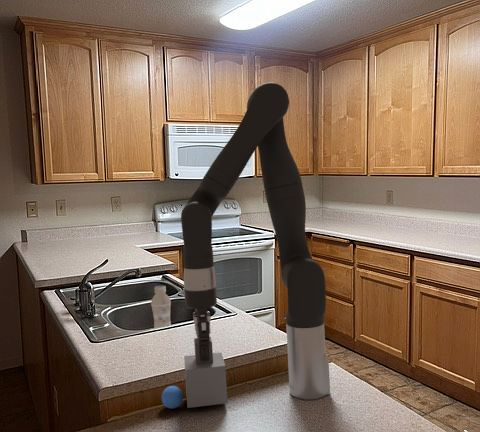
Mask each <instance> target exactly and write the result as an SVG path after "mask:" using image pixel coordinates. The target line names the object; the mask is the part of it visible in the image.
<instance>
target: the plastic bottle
mask: <svg viewBox="0 0 480 432" xmlns="http://www.w3.org/2000/svg"><path fill="white" fill-rule="evenodd" d="M166 288H167V287H166V285H156V286H154V295H153V297H152V298H151V301H150V305H151V309H152V315H153V323H154V325H153V326H154V327H153V329H154V328H158V327H163V326H167V325H171V326H172V322H171V305H172V303H171V302H172V301H171V299H170V297H169V295H168V294H166V292H167V289H166Z"/></svg>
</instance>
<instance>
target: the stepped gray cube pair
mask: <svg viewBox="0 0 480 432" xmlns="http://www.w3.org/2000/svg"><path fill="white" fill-rule="evenodd" d="M204 339H207V337H204V338H201V340H204ZM193 340H194V341H193V342H194V354H193V355H185V356H184V357H183V358H184V359H183V360H184V373H185V374H184V376H185V377H184V378H185V389H186V391H185V393H186V405H187V409H189V408H198V407H206V406H207V407H208V406H217V405H222V404H224V405H225V404H228V388H227V368H226V363H225V361H224V357H223V353H222V352H213V340H212V337H211V336H210V344H209V360H208V361H200V352H199V344H198V338H197V337H196V338H193Z"/></svg>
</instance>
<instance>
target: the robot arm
mask: <svg viewBox="0 0 480 432" xmlns="http://www.w3.org/2000/svg"><path fill="white" fill-rule="evenodd" d="M289 106H290V98H289V94H288V92H287V90H286V89H285V88H284V86H283V85H281V84H279V83H278V82H271V81H270V82H265V83H262V84H260V85H258V86H257V87H256V88H255V89H254V90H253V91H252V93H251V94H250V95H249V97H248V100H247V103H246V110H245V111H246V112H245V113H244V115H243V118H242V120H241V122H240V123H239V125H238V126H237V129H236V130H235V131H234V133H233V134H232V136H231V138H230V139H229V140H228V141H227V143H226V144H225V145H224V147H223V148H222V150H220V152H219V153H218V155H217V156H216V158H215V159H214V160H213V162H212V163H211V165H210V166H209V168H208V170H207V171H206V173H205V174H204V176H203V178H202V180H201V182H200V184H199V186H198V187H197V188H196V190H195V192H194V193H193V194H192V196H190V198H189V200H188V201H187V202H186V204H185V205H184V207H183V208H182V210H181V213H180V222H181V231H182V239H183V252H182V253H183V254H182V256H183V258H182V259H183V290H184V291H183V293H184V305H185V307H186V308H188V309H191V310H194V312H192V317H193V323H194V330H195V335H196V338H198V344H199V352H200V361H208V360H209V344H210V337H211V321H212V317H211V313H210V311H208V309H209V308H213V307H215V306H216V305H217V304H218V303H217V302H218V299H217V282H216V281H217V280H216V279H217V278H216V272H215V266H214V263H215V261H214V250H213V244H212V241H213V239H212V237H213V219H212V218H213V216H214V214H215V213H216V211H217V210H218V209H219V208H218V207H219V206H220V204H221V203H222V202H223V200H224V199H226V198H227V196H228V195H229V194H230V192H231V191H232V190H233V187H234V185H235V184H236V182H237V181H238V180H239V178H240V177H241V175H242V172H243V171H244V169H245V168H246V166H247V164H248V162H249V161H250V159H251V158H252V156H253V154H254V153H255V151H256V149H258V155H259V162H260V170H261V177H262V183H263V189H264V193H265V199H266V203H267V204H266V205H267V207H268V211H269V215H270V220H271V222H272V226H273V231H274V233H275V237H276V240H277V246H278V247H277V248H278V254H279V266H280V275H281V280H282V283H283V284H284V286H285V287H286V290H287V311H286V312H285V326H286V329H285V330H286V345H287V346H286V347H287V348H286V349H287V362H288V364H287V365H288V367H287V368H288V386H289V393H290V395H291V396H293V398H294V397H295V398H297V399H301V400H307V401H308V400H317V399H321V398H323V397H326V396H327V395H331V383H330V382H331V381H330V379H331V378H330V363H329V361H330V360H329V359H330V358H329V355H328V353H326V336H325V335H326V334H325V315H326V311H327V300H326V299H327V298H326V297H327V296H326V293H327V290H326V277H325V272H324V270H323V268H322V266H321V265H320V264H319V263H318V262H316V261H315V260H313V258H312V255H311V252H310V249H309V244H308V242H307V236H306V216H307V213H306V212H307V211H306V210H307V207H306V196H305V191H304V186H303V181H302V177H301V174H300V170H299V167H298V165H297V163H296V161H295V159H294V157H293V155H292V153H291V151H290V148H289V146H288V142H287V136H286V131H285V123H284V117H285V116H286V115H287V112H288V110H289ZM204 337H207V339H204V340H201V338H204Z"/></svg>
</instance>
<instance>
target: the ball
mask: <svg viewBox="0 0 480 432" xmlns="http://www.w3.org/2000/svg"><path fill="white" fill-rule="evenodd" d="M183 399H184V394H183V391H182V390H181V389H180V388H179V387H178V386H176V385H169V386H168V387H166V388H165V389H164V390H163V391H162V394H161V402H162V404H163V405H164V407H165V408H168V409H173V410H174V409H177V408H178V407H179V406H180V405H181V404H182V402H183Z"/></svg>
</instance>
